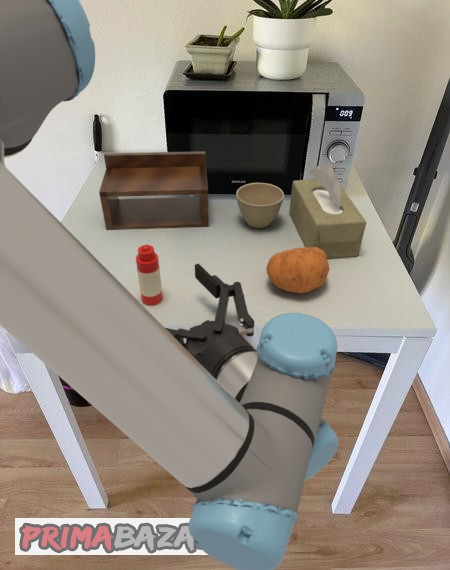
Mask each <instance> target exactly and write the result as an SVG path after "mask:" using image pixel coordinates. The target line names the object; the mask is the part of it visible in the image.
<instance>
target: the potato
mask: <svg viewBox="0 0 450 570" xmlns="http://www.w3.org/2000/svg"><path fill="white" fill-rule="evenodd" d="M265 268H266V275H267V276H268V278H269V281H271V282H272V284H273V285H275V286H276V287H277V288H278V289H281V290H283V291H285V292H291V293H295V294H296V293H297V294H304V293H309V292H311V291H313V290H314V289H317V288H320V287H322V286H323V285H325V284H326V281H327V277H328V275H329V272H330V264H329V261H328V258H327V257H326V254H325V252H324V251H323V250H321V249H319V248H317V247H305V246H304V247H296V248H291V249H288V250H283V251H280V252H277V253H275V254H273V255H272V256H271V257H270V258H269V259H268V262H267V264H266V267H265Z"/></svg>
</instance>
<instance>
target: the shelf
mask: <svg viewBox="0 0 450 570" xmlns="http://www.w3.org/2000/svg"><path fill="white" fill-rule="evenodd" d="M206 155H207V153H206V151H204V150H203V151H161V152H160V151H159V152H158V151H155V152H153V151H152V152H109V153H107V152H106V153H104V154H103V159H104V165H105V171H104V175H103V177H102V180H101V184H100V188H99V191H98V192H99V193H98V195H99V199H100V204H101V205H100V206H101V210H102V215H103V221H104V226H105V230H107V231H108V230H141V229H142V230H143V229H144V230H145V229H146V230H147V229H171V228H172V229H174V228H209V186H208V185H209V184H208V175H207V158H206V157H207V156H206ZM188 195H189V197H188ZM194 195H196V196H194ZM197 195H199V196H197ZM152 196H153V197H152ZM156 196H182V197H156ZM183 196H184V197H183ZM186 196H187V197H186ZM119 197H121V198H119ZM122 197H147V198H122ZM150 197H151V198H150Z"/></svg>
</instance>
